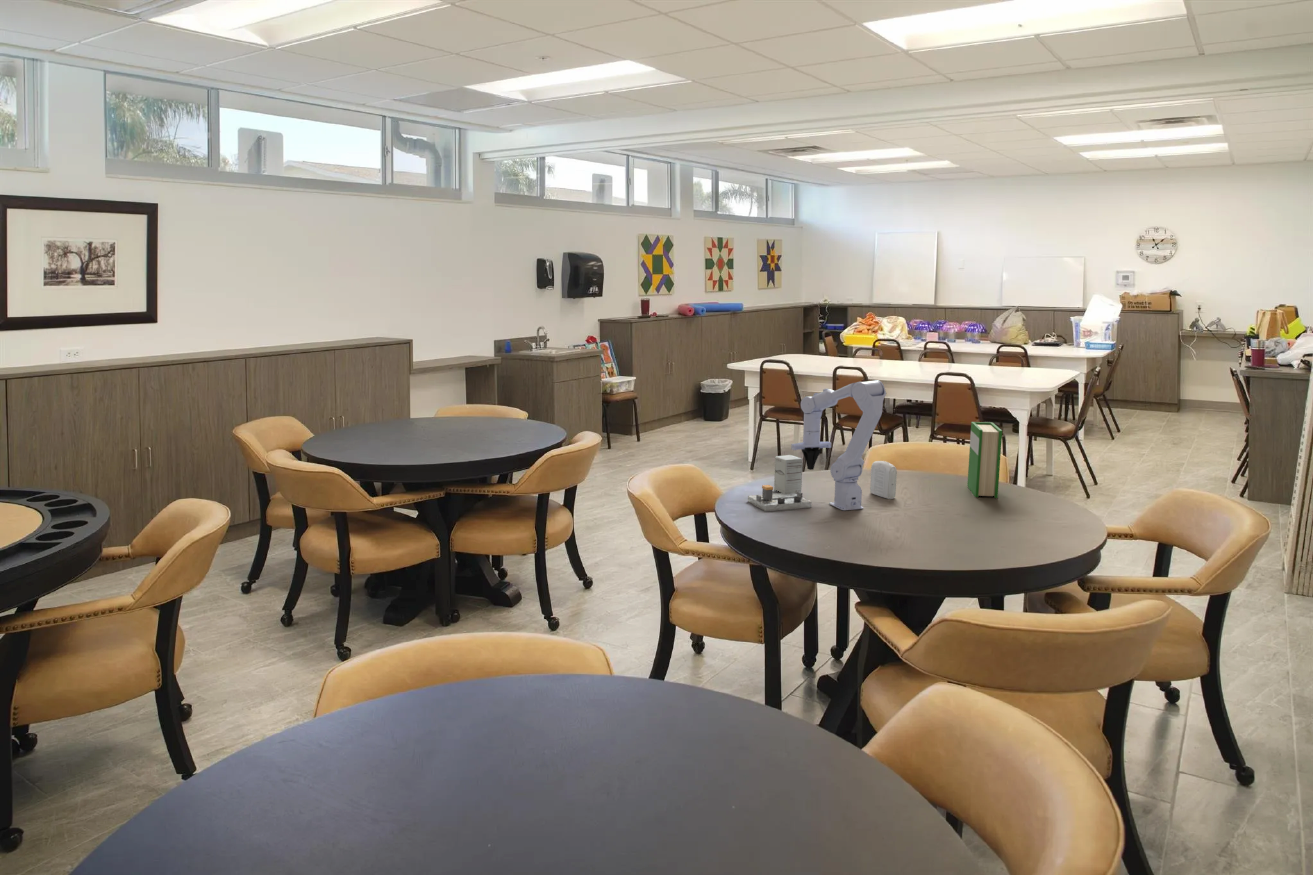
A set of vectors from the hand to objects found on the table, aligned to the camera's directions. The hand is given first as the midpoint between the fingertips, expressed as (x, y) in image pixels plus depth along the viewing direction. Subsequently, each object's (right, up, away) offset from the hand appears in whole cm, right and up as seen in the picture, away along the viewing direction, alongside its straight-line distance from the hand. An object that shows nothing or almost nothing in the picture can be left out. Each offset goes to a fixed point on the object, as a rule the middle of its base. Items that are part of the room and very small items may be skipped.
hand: (810, 469), depth 325 cm
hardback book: (+63, -9, +9) cm, 64 cm away
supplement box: (-7, -9, +10) cm, 14 cm away
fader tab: (-16, -10, -11) cm, 22 cm away
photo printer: (+26, -10, +4) cm, 28 cm away
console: (-12, -12, -9) cm, 19 cm away
